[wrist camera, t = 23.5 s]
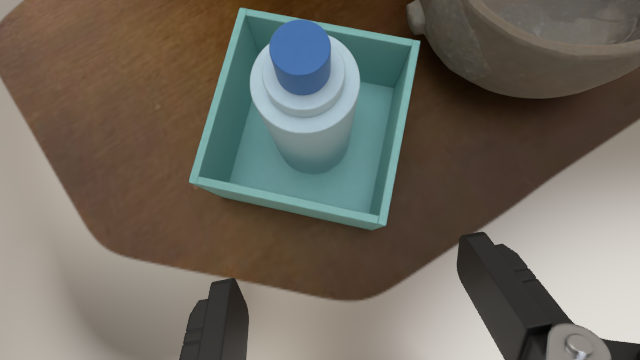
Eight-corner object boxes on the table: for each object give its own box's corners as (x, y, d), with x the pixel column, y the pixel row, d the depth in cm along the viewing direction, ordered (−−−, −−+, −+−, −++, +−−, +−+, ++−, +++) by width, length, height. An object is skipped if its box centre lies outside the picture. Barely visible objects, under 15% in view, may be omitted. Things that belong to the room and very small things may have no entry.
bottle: (277, 174, 27) (230, 110, 14) (278, 106, 28) (235, -12, 15) (349, 173, 27) (368, 109, 14) (348, 105, 28) (364, -14, 15)
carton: (221, 196, 27) (187, 182, 21) (259, 59, 29) (239, 7, 23) (372, 230, 26) (386, 225, 20) (399, 86, 28) (420, 40, 22)
